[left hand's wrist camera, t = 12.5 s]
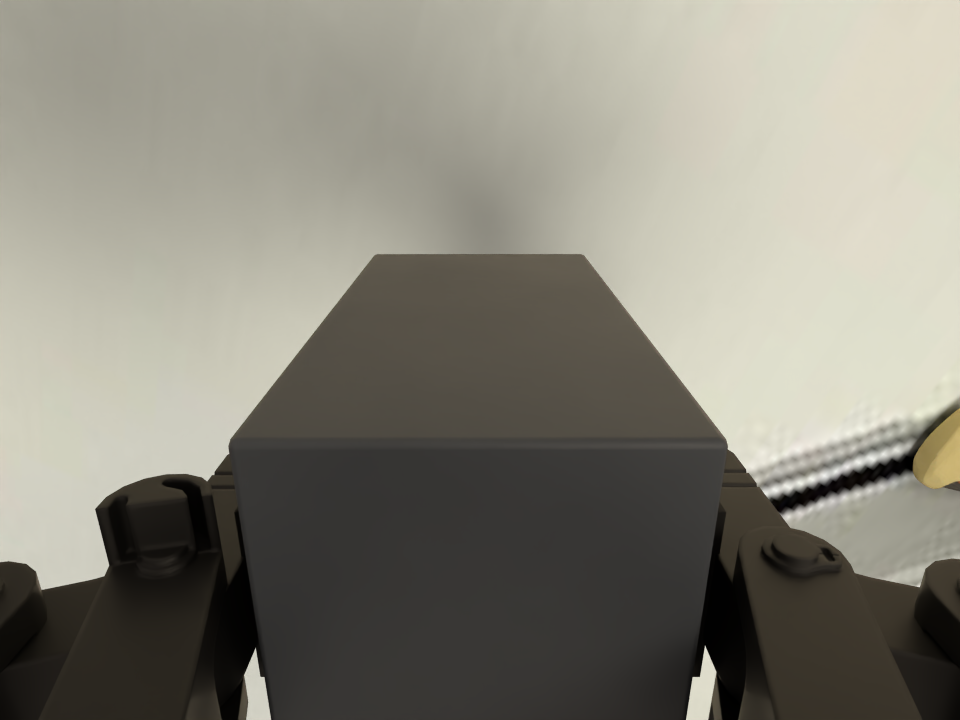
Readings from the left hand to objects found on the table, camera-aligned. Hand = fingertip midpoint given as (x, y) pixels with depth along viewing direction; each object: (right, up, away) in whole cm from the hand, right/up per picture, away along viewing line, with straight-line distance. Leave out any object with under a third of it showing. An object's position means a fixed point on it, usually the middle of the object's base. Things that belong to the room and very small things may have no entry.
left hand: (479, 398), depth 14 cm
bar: (0, -10, +5) cm, 11 cm away
